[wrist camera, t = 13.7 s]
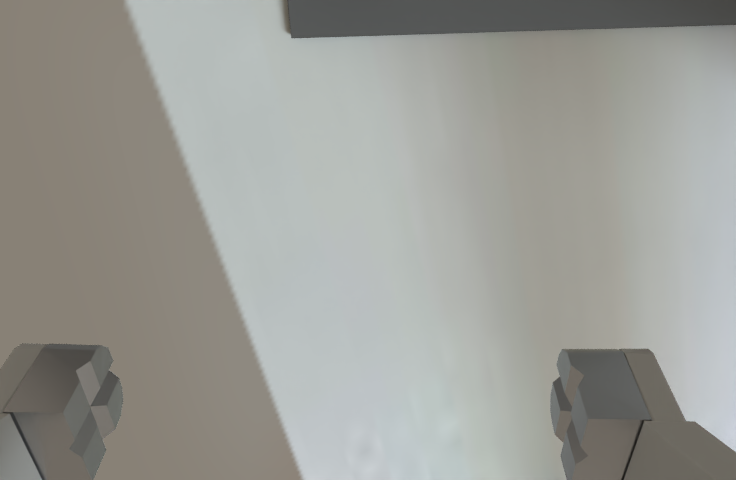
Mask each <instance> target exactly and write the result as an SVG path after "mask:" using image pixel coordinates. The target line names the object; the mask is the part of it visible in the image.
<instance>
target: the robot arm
mask: <svg viewBox="0 0 736 480" xmlns="http://www.w3.org/2000/svg"><path fill="white" fill-rule="evenodd" d="M112 362H113V359H112V356H111V354H110V351H109V349H108V347H105V346H102V345H71V344H26V343H25V344H23V343H22V344H21V345H19V346H17V347H16V348H15V349H14V350H13V351H12V353H11V354H10V355H9V357H8V359H7V360H6V361H5V363H4V364H3V366H2V367H1V369H0V480H93V479H94V477H95V475H96V472H97V470H98V468H99V465H100V463H101V461H102V459H103V456H104V454H105V452H106V448H105V445H104V443H103V440H102V439H103V438H105V437H106V436H107V435H109V434H110V433H111V432H112V431H114V430H115V428H116V426H117V424H118V421H119V419H120V416H121V410H122V404H123V392H122V386H121V383H120V379H119V378H118V377H117V376H116V375H114V374H113V373H112V372H110V371H109V369H110V367H111V364H112ZM557 368H558V371H559V375H560V377H559V378H558V379H557V380H555V381H554V382H553V385H552V390H551V401H550V411H551V418H552V424H553V428H554V433H555V435H556V436H557V437H558V438H559V439H560V440H561V441H562V442H563V448H562V452H561V460H562V463H563V467H564V471H565V475H566V478H567V480H736V452H735V451H733V450H732V449H731V448H729V447H728V446H727V445H725V444H724V443H723V442H721V441H720V440H719V439H717V438H716V437H715V436H713V435H712V434H711V433H709V432H708V431H707V430H705V429H704V428H703V427H701V426H700V425H699V424H697V423H696V422H689V421H686V420H685V418H684V416H683V414H682V412H681V409H680V407H679V405H678V403H677V401H676V399H675V397H674V395H673V393H672V391H671V389H670V387H669V385H668V383H667V380H666V378H665V376H664V374H663V372H662V370H661V368H660V366H659V364H658V362H657V360H656V358H655V356H654V353H653V352H652V351H650V350H649V349H619V350H618V349H562V350H561V352H560V354H559V357H558V361H557Z"/></svg>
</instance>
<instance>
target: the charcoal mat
mask: <svg viewBox="0 0 736 480" xmlns="http://www.w3.org/2000/svg"><path fill="white" fill-rule="evenodd" d="M288 9H289V18H290V28H291V38H315V37H347V36H380V35H412V34H445V33H478V32H510V31H543V30H576V29H608V28H641V27H673V26H706V25H736V0H288Z"/></svg>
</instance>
